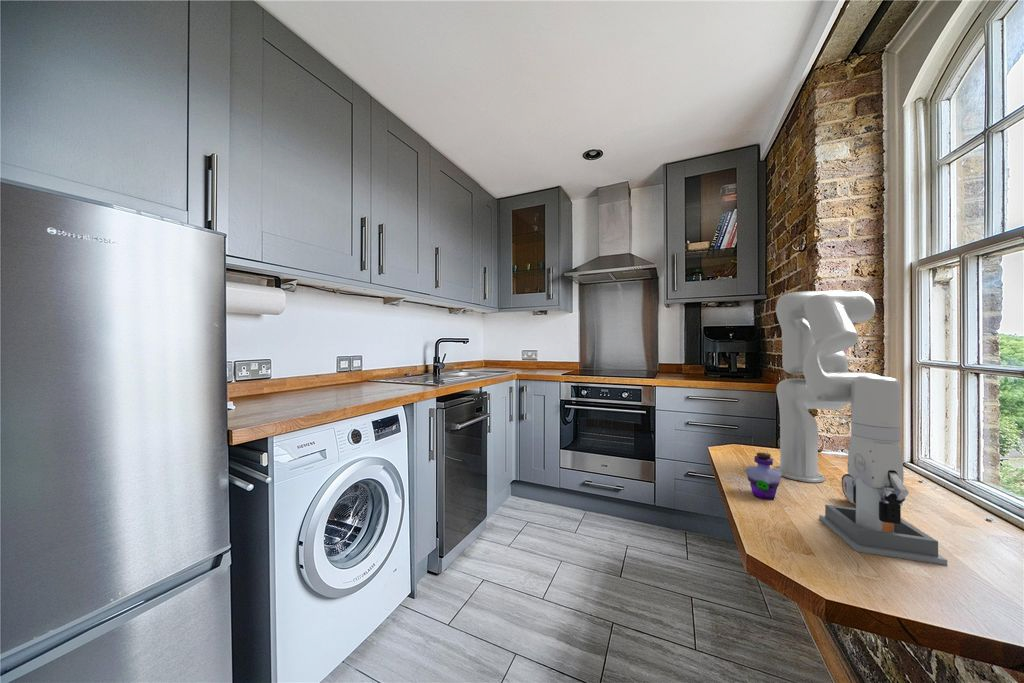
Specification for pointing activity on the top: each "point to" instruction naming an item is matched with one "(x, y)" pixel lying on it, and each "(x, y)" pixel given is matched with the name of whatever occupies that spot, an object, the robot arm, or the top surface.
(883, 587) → the top surface
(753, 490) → the potion bottle
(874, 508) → the skincare box
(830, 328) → the robot arm
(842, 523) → the grey square tray
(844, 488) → the tin
